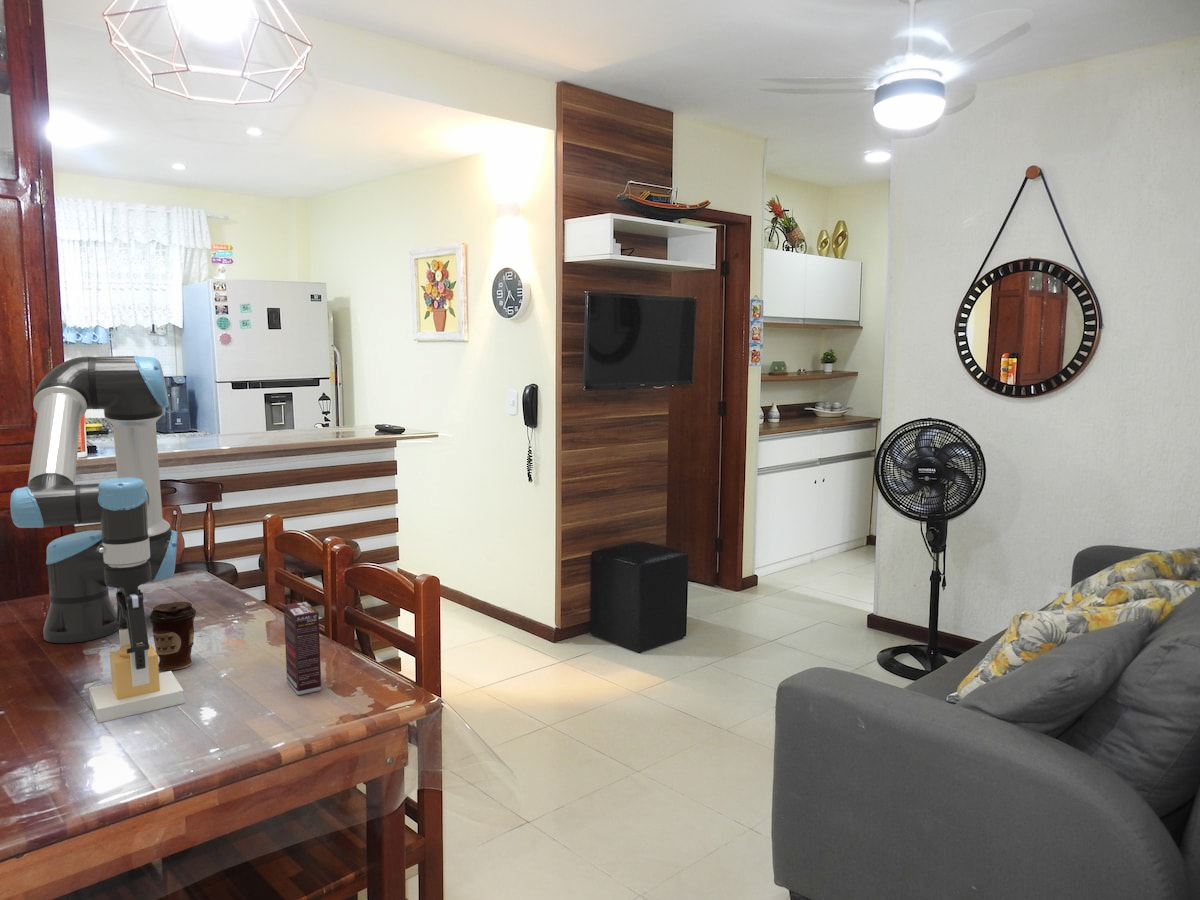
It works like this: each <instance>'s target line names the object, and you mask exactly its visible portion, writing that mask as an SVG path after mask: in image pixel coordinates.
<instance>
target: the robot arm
mask: <svg viewBox="0 0 1200 900" xmlns="http://www.w3.org/2000/svg"><path fill="white" fill-rule="evenodd" d="M162 368H163V367H162V365H161V362H160V361H159V360H158V359H157V358H155V357H153V356H138V355H127V356H125V355H124V356H123V355H121V356H120V355H119V356H118V355H117V356H78V357H75V358H70V359H68V360H66V361H63V362H62V363H60V364H58V365H56V366H55V367H54V368H52V369H51V370H50V371H49V372H48V373H46V375H44V377H43V378H42V379H41V381H40V382H39V384H38V385H37V387H36V389H35V392H34V395H33V403H32V404H33V409H34V411H35V413H37V415H36V421H35V428H34V429H35V431H34V438H33V445H32V452H31V459H30V466H29V472H28V473H29V474H28V481H27V486H24V487H17V488H14V490H13V491H12V492H11V494H10V503H9V504H10V505H9V507H10V515H11V520H12V523H13V524H14V526H16V527H17V528H20V529H28V528H29V529H36V528H38V529H43V528H49V527H60V526H61V527H62V526H73V525H74V526H75V525H87V524H97V523H99V524H100V527H101V529H97V530H96V529H95V530H93V529H92V530H86V531H81V532H74V533H69V534H67V535H63V536H61V537H57V538H56V539H53V540H51V541H50V542H49V543H48V545H47V547H46V562H45V564H46V565H47V566H46V567H47V578H48V579H47V580H48V589H49V590H48V591H49V601H50V602H49V608H48V612H47V614H46V619H45V622H44V626H43V632H42V633H43V640H45V641H46V642H49V643H52V644H53V643H54V644H55V643H56V644H72V643H80V642H81V643H82V642H87V641H93V640H96V639H100V638H104V637H106V636H109V635H111V634H114V633H115V632H117V631H118V634H119V635H118V636H119V649H120V648H121V647H122V646H125V645H128V644H130V645H131V648H130V649H127V654H128V653H130V661H131V674H132V686H133V687H134V686H139V685H144V684H148V683H150V680H149V665H148V651H147V650H148V649H149V647H150V646H149V644H150V643H149V638H148V631H147V623H146V616H145V608H144V607H145V606H144V594H143V592H142V591H141V589H140V588H139V587H140V586H141V585H145V584H147V583H155V582H159V581H164V580H169V579H171V578H172V577H173V576H174V573H175V570H176V560H177V550H178V549H177V546H178V545H177V544H178V531H176V530H173V529H172V530H171V524H170V522H168V521H167V520H166V519H164V517H163V508H162V507H163V506H162V505H163V504H162V493H161V479H160V465H159V464H160V463H159V453H158V452H159V450H158V435H157V424H156V423H157V422H158V420H160V419H161V417H162V416H163V409H166V408H169V406H170V400H169V397H168V396H169V395H168V391H167V385H166V381H165V376H164V371H163V369H162ZM87 410H103V413H104V418H105V420H107V421H108V422H110V423H111V424H112V429H113V440H114V443H113V444H114V452H115V453H114V454H115V465H116V476H117V477H115V478H110V479H106V480H105V479H104V480H103V481H101V482H99V483H84V484H81V483H79V484H76V477H77V476H76V475H77V462H78V452H79V451H78V450H79V438H80V437H79V436H80V425H81V424H80V423H81V418H82V417H84V415H85V414H86V412H87ZM109 588H113V589H116V592H115V598H116V609H115V606H114V604H113V602H112V600H111V598H110V593H109V591H110V590H109ZM137 643H143V644H138V645H136V644H137Z"/></svg>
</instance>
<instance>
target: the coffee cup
mask: <svg viewBox="0 0 1200 900" xmlns="http://www.w3.org/2000/svg"><path fill="white" fill-rule="evenodd" d="M196 614H197V610H196V609H195V608H193V603H191V602H189V601H174V602H170V603H169V602H168V603H161V604H157V605H155V606H154V607H152V611H151V613H150V615H149V619H150V622H151V625H152V629H151V630H152V637H153V641H154V649H155V651H156V653H157V654H158V666H159V669H160V670H162V671H163V670H164V671H166V670H167V671H175V670H181V669H185V668H189V667H190V666H192V665H193V664H194V663H193V660H192V658H191V657H192V655H191V654H192V649H193V645H194V638H195V627H194V622H195V621H194V620H195V618H196Z"/></svg>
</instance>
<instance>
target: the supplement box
mask: <svg viewBox="0 0 1200 900" xmlns="http://www.w3.org/2000/svg"><path fill="white" fill-rule="evenodd" d="M283 617H284V618H283V619H284V620H283V621H284V622H283V623H284V636H285V637H284V640H285V641H284V642H285V643H284V644H285V664H286V665H285V666H286V668H285V669H286V682H287V684H288V685H289V686H290V687H291V689H292V690H293V691H294V692H295V694H296V695H297V696H301V695H306V694H312V693H316V692H320V691H322V675H321V674H322V672H321V670H322V668H321V644H320V643H321V642H320V621H319V620H320V614H319V611H318V610H317V609H315V607H313V606H312V605H311V604H310V603H309V602H308V601H302V602H301V601H299V602H294V603H288V604H284V605H283Z"/></svg>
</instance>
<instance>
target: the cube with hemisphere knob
mask: <svg viewBox="0 0 1200 900" xmlns="http://www.w3.org/2000/svg"><path fill="white" fill-rule="evenodd" d="M138 644H143V643H137V644H136V645H138ZM148 644H149V646H150V647H149V649H148V650H147V651H148V665H149V680H150V683H148V684H144V685H139V686H134V687H133V686H132V674H131V661H130V653H128V654H127V649H130V648H131V645H130V644H128V645H125V646H122V647H121V648H120V647H119V649H118V650H113V651H109V664H110V677H111V683H112V689H113V691H114V693H115V696H116V698H117V700H120V699H125V698H129V697H134V696H138V695H143V694H148V693H152V692H157V691H160V681H159V673H160V670H159V669H160V668H159V666H158V664H159V656H158V654H157V653H156V649H155V647H154V646H153V644H151V643H148Z"/></svg>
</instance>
